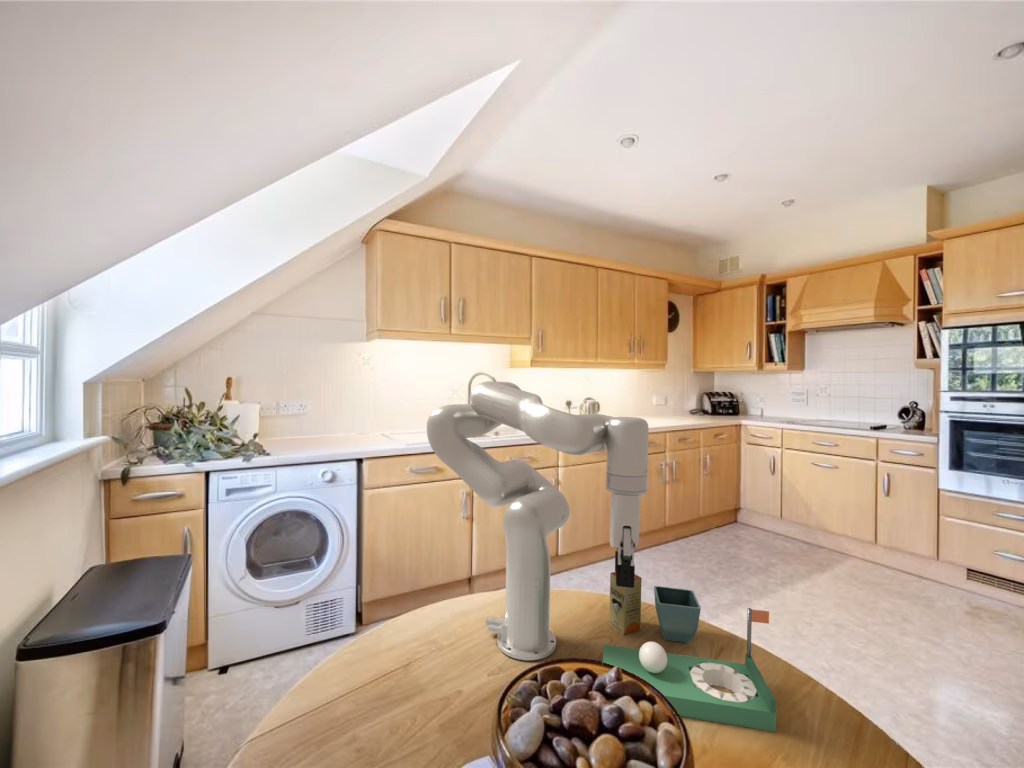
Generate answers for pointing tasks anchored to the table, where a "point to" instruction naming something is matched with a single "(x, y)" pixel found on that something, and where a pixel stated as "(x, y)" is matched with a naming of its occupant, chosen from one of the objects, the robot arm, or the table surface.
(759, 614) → the flag
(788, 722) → the table surface
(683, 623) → the flower pot
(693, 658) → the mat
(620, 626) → the shoe polish box
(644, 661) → the ball
